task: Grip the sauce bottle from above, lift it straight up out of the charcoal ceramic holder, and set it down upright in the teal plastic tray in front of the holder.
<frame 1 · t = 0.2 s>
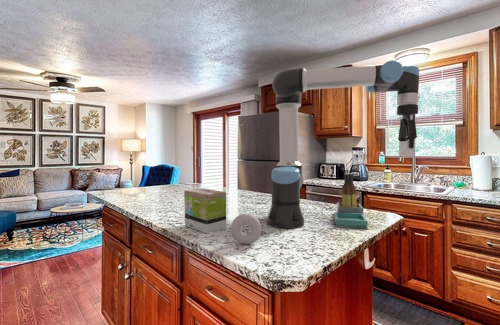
hand: (406, 156, 109), 28 cm above the worktop, tool pointing down, fingers open, 13 cm apart
donut: (246, 244, 85), on the worktop
bottle holder: (349, 215, 123), on the worktop
tray: (349, 223, 110), on the worktop
sauce bottle: (349, 216, 123), resting in bottle holder
tea box: (205, 228, 104), on the worktop
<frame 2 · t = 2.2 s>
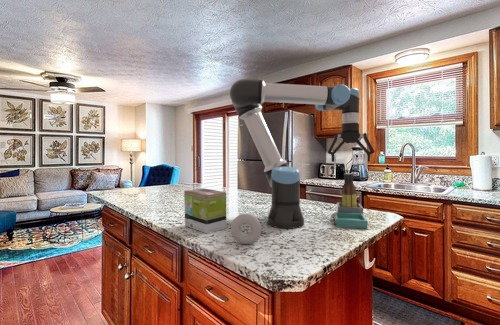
hand: (350, 168, 122), 22 cm above the worktop, tool pointing down, fingers open, 13 cm apart
nothing on the worktop moved.
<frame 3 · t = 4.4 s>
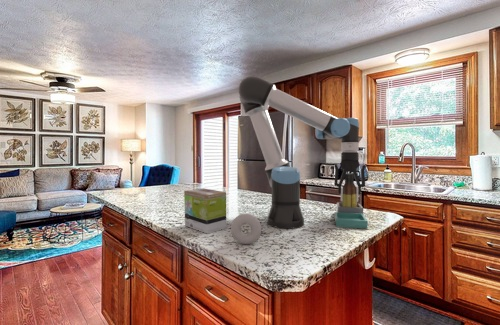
hand: (349, 201, 123), 7 cm above the worktop, tool pointing down, fingers closed on sauce bottle, 6 cm apart
sauce bottle: (349, 216, 123), resting in bottle holder, touching gripper
everything else where it was.
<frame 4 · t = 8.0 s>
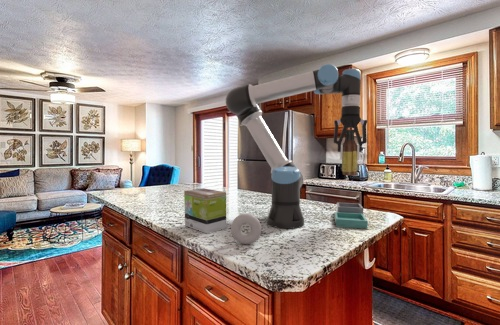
hand: (349, 159, 115), 27 cm above the worktop, tool pointing down, fingers closed on sauce bottle, 6 cm apart
sauce bottle: (348, 175, 115), point 19 cm above the worktop, touching gripper
everything else where it was.
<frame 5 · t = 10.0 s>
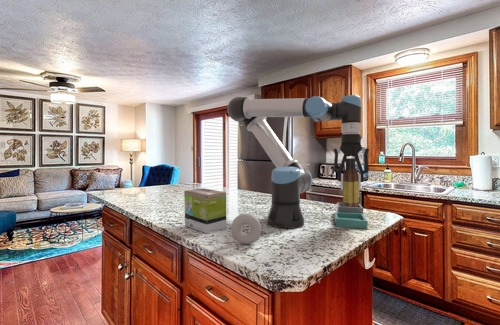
hand: (350, 189, 109), 14 cm above the worktop, tool pointing down, fingers closed on sauce bottle, 6 cm apart
sauce bottle: (350, 206, 109), point 7 cm above the worktop, touching gripper
everything else where it was.
when the fingers open (9 cm above the worktop, at t = 11.8 s): sauce bottle stays where it is, resting on tray.
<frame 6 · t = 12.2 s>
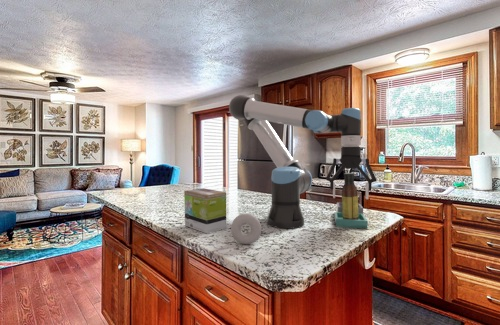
hand: (350, 198, 109), 11 cm above the worktop, tool pointing down, fingers open, 12 cm apart
sauce bottle: (350, 220, 110), point 1 cm above the worktop, touching tray
everything else where it was.
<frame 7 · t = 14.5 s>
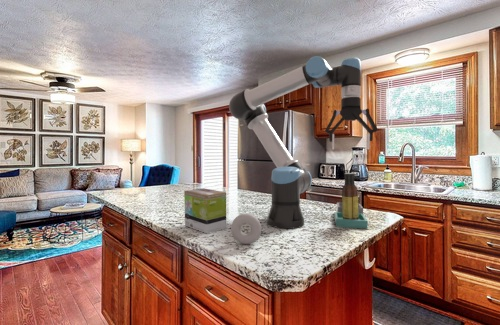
hand: (350, 149, 109), 31 cm above the worktop, tool pointing down, fingers open, 13 cm apart
nothing on the worktop moved.
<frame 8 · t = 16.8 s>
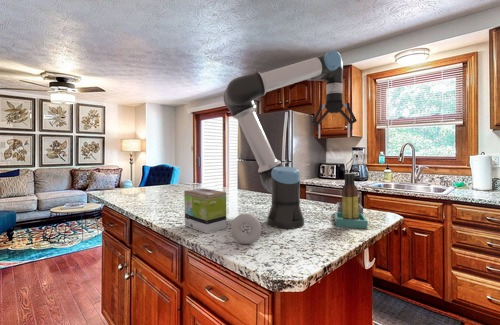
hand: (333, 137, 127), 37 cm above the worktop, tool pointing down, fingers open, 13 cm apart
nothing on the worktop moved.
at the end: sauce bottle inside the target area on the tray (0.0 cm from its centre), point 1.0 cm above the tray's base; sauce bottle tilted 0°; the gripper is holding nothing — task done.
